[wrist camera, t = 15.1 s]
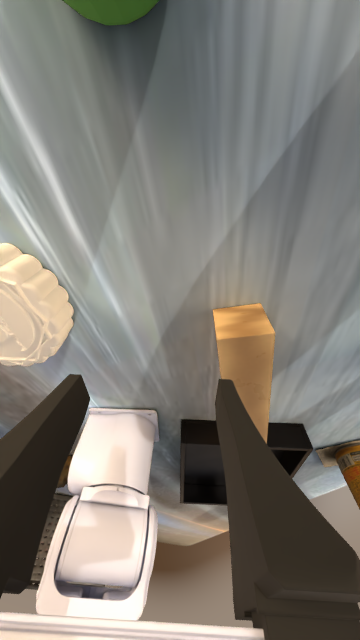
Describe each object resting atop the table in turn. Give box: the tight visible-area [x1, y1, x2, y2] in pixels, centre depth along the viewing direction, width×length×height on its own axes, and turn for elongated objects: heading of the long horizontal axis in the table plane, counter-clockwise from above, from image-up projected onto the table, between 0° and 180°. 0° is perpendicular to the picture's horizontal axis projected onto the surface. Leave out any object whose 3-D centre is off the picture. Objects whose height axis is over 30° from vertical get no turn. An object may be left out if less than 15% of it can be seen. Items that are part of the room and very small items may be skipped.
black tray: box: [180, 420, 313, 506], centre depth 37 cm, size 17×23×3 cm
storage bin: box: [26, 494, 105, 590], centre depth 52 cm, size 29×19×13 cm
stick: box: [213, 303, 275, 444], centre depth 24 cm, size 4×18×4 cm, turn 10°
